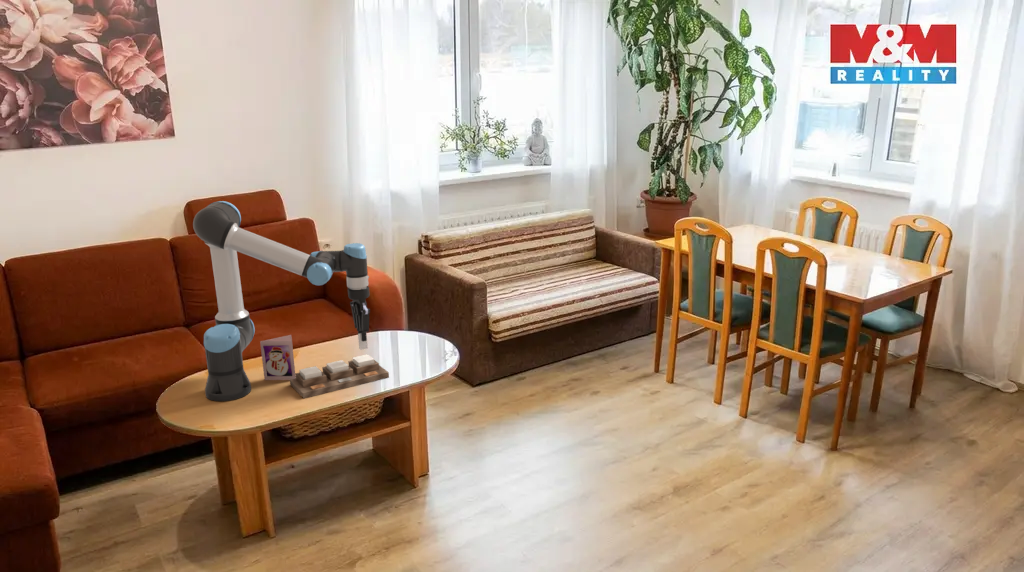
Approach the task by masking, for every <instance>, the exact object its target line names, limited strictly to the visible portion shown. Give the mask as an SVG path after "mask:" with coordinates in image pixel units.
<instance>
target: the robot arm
mask: <svg viewBox="0 0 1024 572" xmlns="http://www.w3.org/2000/svg"><path fill="white" fill-rule="evenodd" d="M241 221H242V216H241V212H240V210H239V209H238V208H237V207H236V206H235V205H234V204H232V203H231V202H228V201H226V200H225V201H224V200H222V201H221V200H219V201H214V202H212V203H210V204H208V205H207V206H206V207H204V208H202V209H201V210H199V211H198V212H197V213H196V214H195V215H194V218H193V222H192V227H193V230H194V233H195V234H196V236H197V237H198V238H199V239H200V240H201V241H203V242H204V244H205V245H207V246H208V247H209V250H210V257H211V264H212V271H213V277H214V278H213V279H214V286H215V295H216V301H217V308H218V309H217V310H218V312H217V313H216V315H215V316H214V322H215V325H214V326H211V327H210V328H208V329H206V331H205V332H204V334H203V347H204V352H205V360H206V365H207V374H208V375H207V380H206V384H205V388H204V394H205V398H206V399H208V400H210V401H213V400H214V402H229V401H234V400H237V399H240V398H243V397H246V396H247V395H249V393H251V391H252V385H251V381H250V379H249V377H248V375H247V373H246V371H245V369H244V363H243V362H244V360H243V352H244V351H245V349H246V348H247V347H248V346H249V345H250V344H251V342H252V340H253V339H254V335H255V331H256V329H255V324H254V322H253V320H252V319H251V317H250V313H249V311H248V310H247V309H245V306H244V299H243V298H244V297H243V292H242V291H243V290H242V284H241V283H242V282H241V276H240V275H241V274H240V268H239V267H240V266H239V260H238V258H239V257H238V253H240V254H243V255H246V256H249V257H252V258H254V259H256V260H259V261H262V262H264V263H267V264H270V265H272V266H275V267H278V268H281V269H283V270H285V271H288V272H290V273H294V274H296V275H299V276H301V277H303V278H307V280H308V281H309V282H310V283H311V284H312V285H315V286H323V285H325V284H327V282H329V281H330V279H331V278H332V277H333V274H334V273H340V272H341V273H343V272H345V274H346V275H345V276H346V287H347V295H348V296H347V297H348V299H349V300H352V301H350V302H349V305H350V308H351V314H352V318H353V324H354V329H356V331H357V337H358V338H357V339H358V349H359V350H360V351H363V350H367V349H368V348H369V347H368V337H367V335H368V334H367V333H369V332H370V314H371V308H368V304H367V301H366V299H367V298H369V297H370V287H369V278H370V276H369V273H368V258H367V257H368V255H367V253H366V250H367V249H366V246H365V245H364V244H363V243H360V242H359V243H358V242H353V243H348V244H347V243H346V244H345V245H344V246H343V249H342V250H319V251H313V252H311V253H310V254H308V253H306V252H303V251H300V250H298V249H296V248H292V247H290V246H288V245H285V244H283V243H280V242H277V241H275V240H272V239H269V238H267V237H265V236H262V235H260V234H256V233H254V232H251V231H249V230H246V229H243V228H242V227H240V226H241Z"/></svg>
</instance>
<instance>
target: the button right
mask: <svg viewBox="0 0 1024 572" xmlns="http://www.w3.org/2000/svg"><path fill="white" fill-rule="evenodd" d="M351 360H353V363H354V364H355V365H356V366H358V367H361V366H366V365H370V364H374V360H375V358H373V357H372V356H371V355H369V354H367V353H366V354H363V355H358V356H353V357H352V359H351Z"/></svg>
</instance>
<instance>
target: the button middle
mask: <svg viewBox="0 0 1024 572" xmlns="http://www.w3.org/2000/svg"><path fill="white" fill-rule="evenodd" d="M325 365H326V366H327V369H328V370H329V371H330V372H331V373H336V372H340V371H344V370H349V367H348V366H349V363H346V362H345V361H344V360H343V359H341V360H335V361H332V362H328V363H326V364H325Z"/></svg>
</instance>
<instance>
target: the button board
mask: <svg viewBox="0 0 1024 572" xmlns="http://www.w3.org/2000/svg"><path fill="white" fill-rule="evenodd" d="M347 364H348V367H349V370H344V371H340V372H336V373H331V372H330V371H329V370H328V369H327V365H326V366H322V368H321V369H322V376H319V377H315V378H311V379H306V380H304V379H303V378H302V377H301V376H300V371H299V372H295V376H296V378H295V379H291V380H289V386H291V387H292V388H293V390H294V391H295V392H297V394H299V395H300V397H301V396H302V397H303V398H302V397H301V398H302V399H303V400H304V399H308V398H311V397H316V396H319V395H324V394H329V393H331V392H332V393H333V392H336V391H339V390H344V389H348V388H352V387H356V386H360V385H363V384H368V383H371V382H377V381H379V380H380V381H381V380H384V379H388V378H390V373H389V371H387V370H386V369H385V368H384V367H382V366H381V365H380V363H379V362H378V361H376V359H374V364H370V365H366V366H361V367H358V366H356V365H355V364H354V363H353V359H351V360H348V363H347ZM318 369H319V370H321V369H320V368H318Z"/></svg>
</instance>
